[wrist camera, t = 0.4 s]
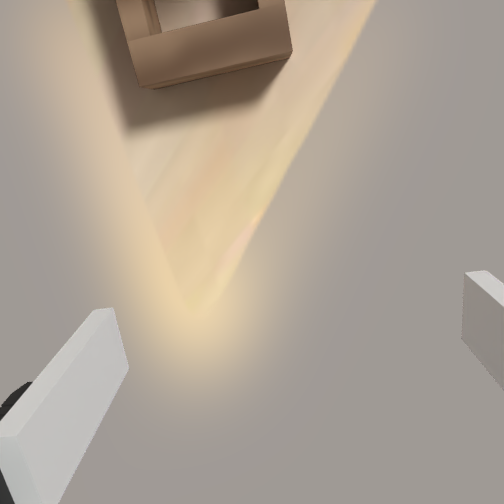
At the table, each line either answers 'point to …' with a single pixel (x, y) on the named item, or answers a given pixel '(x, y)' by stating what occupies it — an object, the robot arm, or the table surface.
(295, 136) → the table surface
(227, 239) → the table surface
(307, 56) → the table surface
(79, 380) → the robot arm
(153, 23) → the socket block
